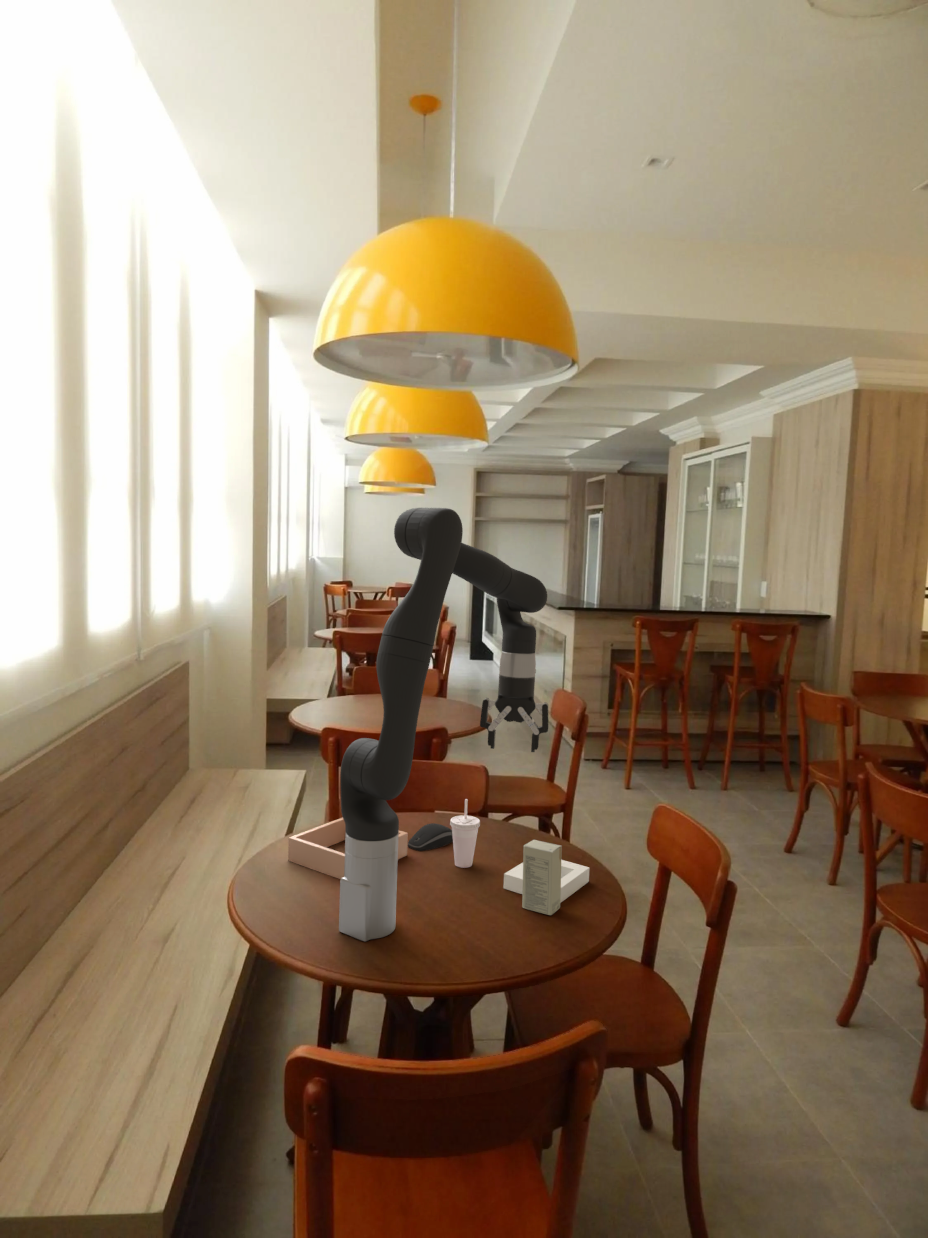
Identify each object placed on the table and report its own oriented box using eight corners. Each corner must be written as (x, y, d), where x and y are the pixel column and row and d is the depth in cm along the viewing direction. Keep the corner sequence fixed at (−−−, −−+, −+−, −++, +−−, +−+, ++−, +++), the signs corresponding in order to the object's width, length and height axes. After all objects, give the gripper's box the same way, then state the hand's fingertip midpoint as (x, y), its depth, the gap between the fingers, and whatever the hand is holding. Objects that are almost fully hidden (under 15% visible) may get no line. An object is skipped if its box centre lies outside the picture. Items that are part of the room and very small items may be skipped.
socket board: (557, 905, 151) (558, 887, 151) (503, 888, 158) (504, 871, 157) (588, 881, 163) (589, 865, 162) (537, 866, 169) (538, 851, 169)
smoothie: (479, 859, 172) (482, 796, 171) (477, 871, 166) (479, 806, 164) (450, 857, 172) (452, 794, 171) (446, 869, 166) (449, 804, 165)
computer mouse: (401, 846, 179) (401, 828, 179) (438, 833, 188) (439, 816, 188) (423, 855, 174) (423, 837, 174) (460, 841, 183) (461, 824, 183)
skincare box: (560, 908, 150) (564, 845, 149) (550, 917, 146) (554, 852, 145) (530, 899, 153) (533, 838, 152) (519, 907, 149) (522, 844, 148)
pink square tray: (349, 882, 157) (350, 858, 157) (288, 860, 167) (288, 837, 167) (407, 855, 173) (407, 833, 172) (347, 836, 182) (348, 815, 182)
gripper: (481, 673, 163) (477, 751, 164) (550, 678, 161) (546, 757, 162) (485, 668, 170) (481, 743, 171) (551, 673, 168) (547, 748, 170)
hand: (512, 749), depth 167 cm, fingers open, 8 cm apart
